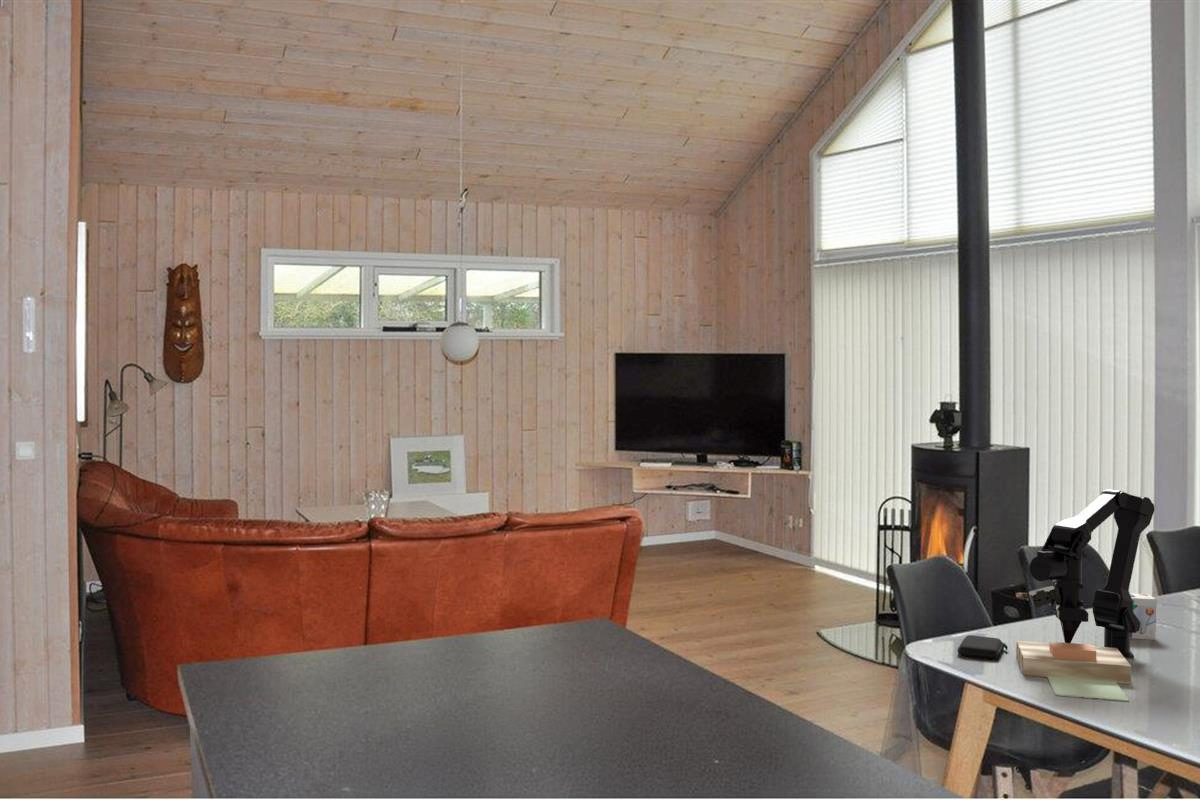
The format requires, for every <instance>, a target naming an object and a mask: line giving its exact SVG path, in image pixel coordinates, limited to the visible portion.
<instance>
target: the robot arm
mask: <svg viewBox="0 0 1200 800" xmlns="http://www.w3.org/2000/svg"><path fill="white" fill-rule="evenodd" d="M1154 513H1155V504H1154V503H1153V502H1152V500H1151V499H1150V498H1149V497H1147V496H1137V495H1133V494H1129V493H1127V492H1125V491H1123V490H1117V489H1105V490H1102V491H1101V492H1100V495H1099V496H1098V497H1096V499H1095V500H1093V501H1092V502H1090V504H1089V505H1087V506H1086V507H1085V508H1084V509H1083V510H1081V511H1080V512H1079V513H1078V514H1077V515H1075V516H1074V517H1070V518H1065V519H1063V520H1061V521H1058V522H1057V523H1056V524H1054V525H1053V527H1052V528H1051V530H1050V532H1049V534H1048V536H1047V539H1046V540H1045V542H1044V545H1043V546H1042V549H1041V550H1039V551H1037V552H1036V556H1035V557H1033V559H1031V561H1030V564H1028V565H1029V566H1028V568H1029V572H1030V574H1031V576H1032V578H1033V579H1034V580H1036V581H1038V582H1046V581H1052V582H1051V583H1052V585H1050V586H1045V587H1041V588H1037V589H1033V590H1030V591H1028V595H1029V598H1030V601H1031V604H1032V605H1033V607H1034V608H1035V609H1037V608H1042V607H1043V606H1044V605H1045V606H1047V605H1049V606H1050V607H1053V606H1054V605H1055V607H1056V608H1055V609H1052V612H1053V614H1054V616H1055V617H1056V618H1057V620H1059V621H1060V625H1061V626H1060V627H1061V631H1062V636H1063V641H1064V643H1071V642H1072V640H1073V639H1074V637H1075V635H1076V633H1077V631H1078V629H1079V628H1080V625H1081V624H1082V622H1083V623H1087V622H1089V612H1088V611H1087V609H1085V608H1084V601H1083V600H1082V591H1083V590H1082V589H1084V584H1083V583H1082V581H1083V579H1082V578H1083V577H1082V576H1083V575H1082V574H1083V569H1082V568H1083V559H1086V558H1088V557H1089V556H1088V554H1087V553H1086V552H1085V551H1083V549H1085V547H1086V546H1087V545H1088V544H1089V542H1090V541H1091V540H1092V533H1093V532H1094V530H1096V529H1097V528H1098V527H1099V526H1100V525H1101V524H1103V523H1104V522H1105V521H1106V520H1107V519H1108V518H1110V517H1111V516H1112V515H1113V519H1114V521H1115V523H1116V526H1117V533H1116V538H1115V543H1114V547H1113V552H1112V556H1111V562H1110V566H1109V570H1108V571H1109V572H1108V576H1107V580H1106V584H1105V586H1103V588H1102V589H1096V590H1095V592H1094V599H1093V602H1092V604H1091V606H1092V615H1093V619H1094V623H1095V626H1096V627H1101V628H1104V629H1103V630H1104V631H1103V647H1109V648H1117V649H1118V650H1119V651H1120V653H1121V654H1122V655H1123V656H1124V658H1135V655H1134V654H1133V652H1132V651H1131V638H1130V633H1137V631H1139V629H1140V624H1141V623H1140V621H1139V620H1138V618H1137V617H1136V615H1135V614H1134V613H1133V601H1132V598H1131V596H1130V591H1129V590H1130V586H1131V585H1130V584H1131V580H1132V575H1133V570H1134V566H1135V561H1136V557H1137V551H1138V547H1139V542H1140V537H1141V533H1143V532H1144V530H1146V529H1147V527H1148V526H1150V524H1151V521H1152V518H1153V515H1154Z"/></svg>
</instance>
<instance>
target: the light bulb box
mask: <svg viewBox="0 0 1200 800" xmlns="http://www.w3.org/2000/svg"><path fill="white" fill-rule="evenodd" d="M1129 593H1130V592H1129ZM1130 596H1131V598H1132V601H1133V613H1134V614H1135V615H1136V617H1137V618H1138V620H1139V621H1140V623H1141V624H1140V629H1139V631H1137V633H1130V639H1134V640H1136V639H1137V640H1156V637H1157V636H1156V635H1157V634H1156V631H1157V601H1158V600H1157V598H1155V597H1153V596H1152V595H1151V594H1149V593H1132V592H1131V593H1130Z"/></svg>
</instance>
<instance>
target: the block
mask: <svg viewBox="0 0 1200 800" xmlns="http://www.w3.org/2000/svg"><path fill="white" fill-rule="evenodd" d="M1049 643H1050V652H1051V654H1052V656H1053V657H1063V658H1076V659H1089V660H1096V650H1095V648H1094V647H1093V646H1094V645H1093V644H1090V643H1089V644H1087V643H1086V644H1085V643H1074V642H1073V643H1065V642H1058V641H1049Z"/></svg>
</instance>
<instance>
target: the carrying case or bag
mask: <svg viewBox="0 0 1200 800" xmlns="http://www.w3.org/2000/svg"><path fill="white" fill-rule="evenodd" d="M1004 648H1005V650H1006V651H1008V648H1009V647H1008V645H1007V643H1005V642H1002V640H1001V639H1000V638H997V637H991V636H990V637H989V636H980V635H972V634H968V635H966V636H965V637H964V638H963V639H962V641H961V643H960V644H959V646H958V648H957V654H958V655H959V656H960V657H961V658H966V659H967V658H968V659H976V660H984V661H996V660H997V659H1000V657H1001V655H1002V653H1003V651H1004Z"/></svg>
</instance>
